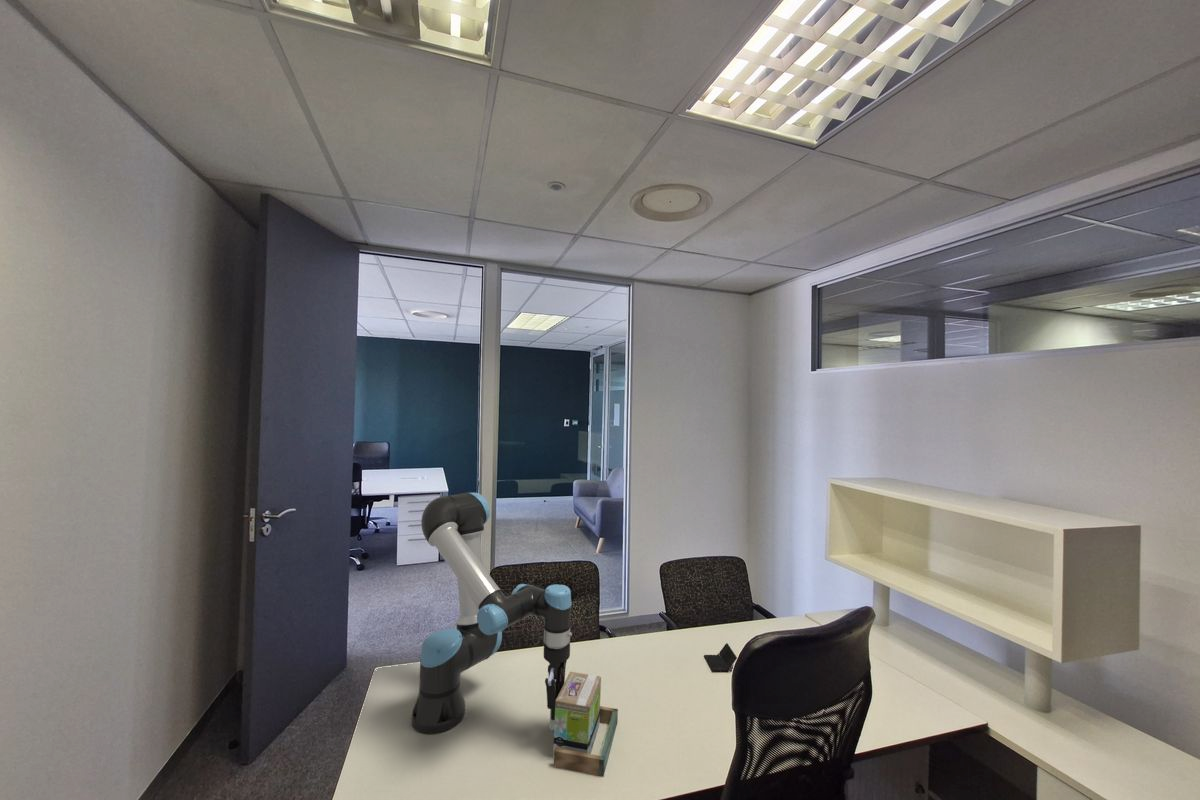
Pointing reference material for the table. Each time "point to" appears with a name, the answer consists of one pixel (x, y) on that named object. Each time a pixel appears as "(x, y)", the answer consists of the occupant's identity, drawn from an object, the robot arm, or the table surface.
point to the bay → (590, 761)
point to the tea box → (577, 713)
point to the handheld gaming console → (721, 660)
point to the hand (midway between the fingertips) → (555, 728)
